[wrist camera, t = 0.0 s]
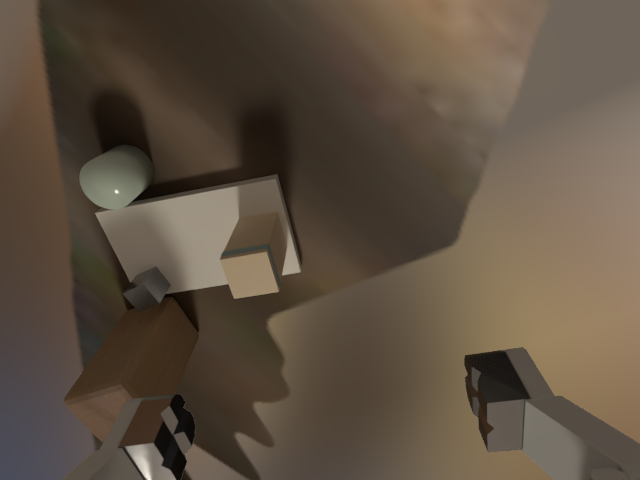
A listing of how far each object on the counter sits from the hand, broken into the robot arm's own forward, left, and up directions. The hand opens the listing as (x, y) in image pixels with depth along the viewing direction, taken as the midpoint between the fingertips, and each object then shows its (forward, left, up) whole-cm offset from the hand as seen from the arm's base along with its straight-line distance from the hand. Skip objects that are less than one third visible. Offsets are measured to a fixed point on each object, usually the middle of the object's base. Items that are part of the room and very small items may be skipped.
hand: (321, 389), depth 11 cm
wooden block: (+31, -36, -48) cm, 68 cm away
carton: (+16, -13, -46) cm, 51 cm away
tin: (+21, -33, -46) cm, 60 cm away
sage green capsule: (+3, -30, -48) cm, 57 cm away
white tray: (+16, -23, -48) cm, 56 cm away
